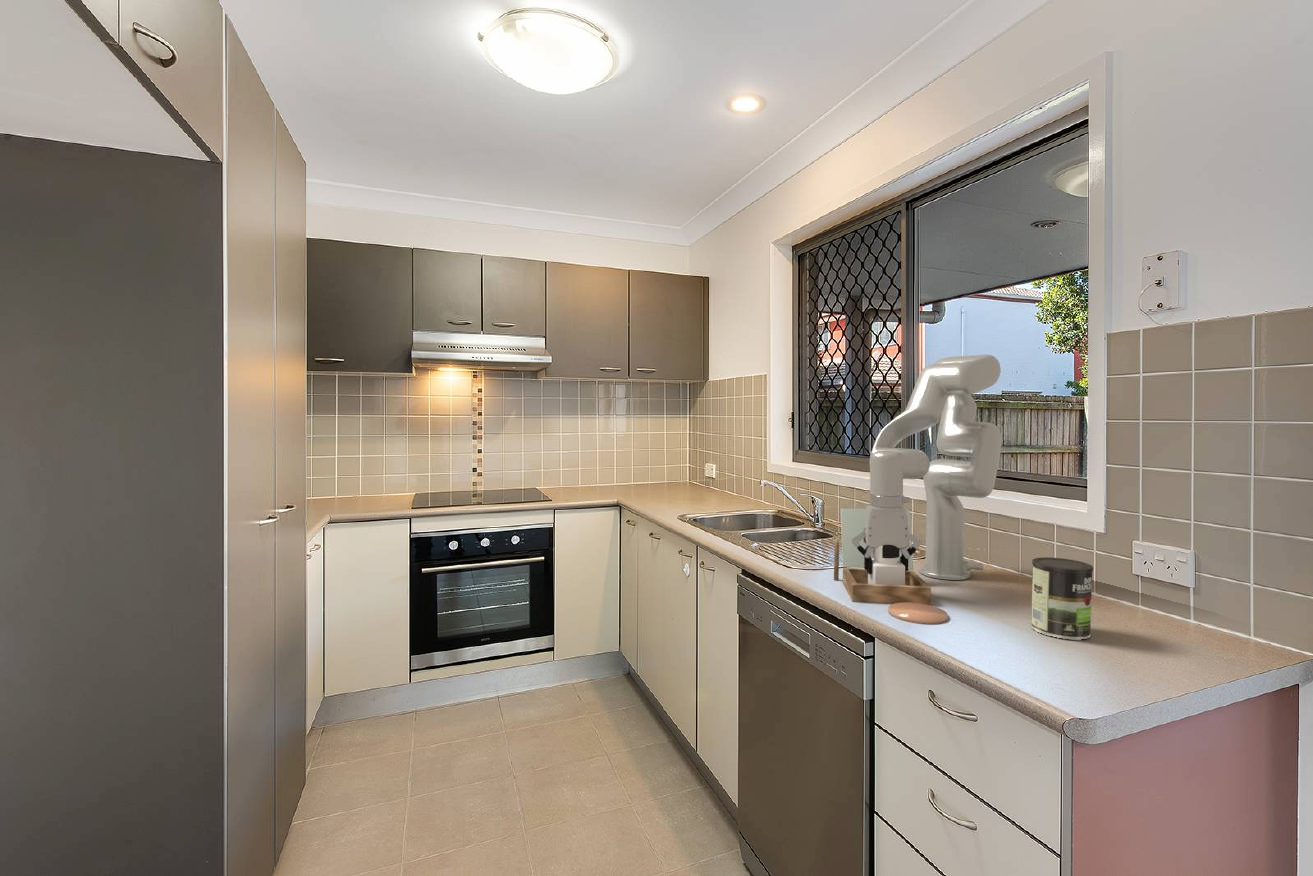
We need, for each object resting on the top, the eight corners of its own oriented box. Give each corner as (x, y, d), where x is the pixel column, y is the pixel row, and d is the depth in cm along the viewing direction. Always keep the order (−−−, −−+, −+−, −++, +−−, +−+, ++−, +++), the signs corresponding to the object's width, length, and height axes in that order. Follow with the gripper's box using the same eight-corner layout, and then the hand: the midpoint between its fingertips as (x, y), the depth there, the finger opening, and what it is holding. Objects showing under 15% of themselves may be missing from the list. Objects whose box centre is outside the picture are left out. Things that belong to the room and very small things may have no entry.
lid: (913, 569, 155) (911, 570, 157) (909, 510, 160) (907, 511, 161) (843, 566, 158) (842, 567, 160) (841, 508, 162) (840, 509, 164)
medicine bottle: (896, 586, 153) (897, 539, 152) (905, 595, 146) (905, 545, 145) (867, 585, 154) (867, 538, 153) (874, 594, 146) (874, 545, 146)
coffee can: (1101, 635, 121) (1104, 565, 121) (1072, 644, 117) (1074, 572, 116) (1048, 619, 131) (1050, 554, 130) (1019, 627, 126) (1021, 560, 125)
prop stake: (838, 579, 162) (838, 538, 161) (838, 580, 160) (839, 539, 160) (833, 579, 162) (834, 538, 161) (834, 580, 161) (834, 539, 160)
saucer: (938, 607, 139) (938, 603, 139) (955, 625, 127) (955, 621, 127) (883, 604, 141) (883, 601, 141) (895, 622, 129) (895, 618, 129)
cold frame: (913, 586, 155) (913, 570, 155) (930, 605, 140) (930, 588, 140) (842, 583, 158) (843, 567, 158) (852, 601, 143) (852, 584, 143)
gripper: (919, 499, 151) (919, 569, 152) (847, 499, 153) (847, 568, 154) (928, 504, 143) (927, 578, 144) (851, 504, 146) (851, 576, 147)
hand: (886, 572), depth 149 cm, fingers closed on medicine bottle, 7 cm apart
